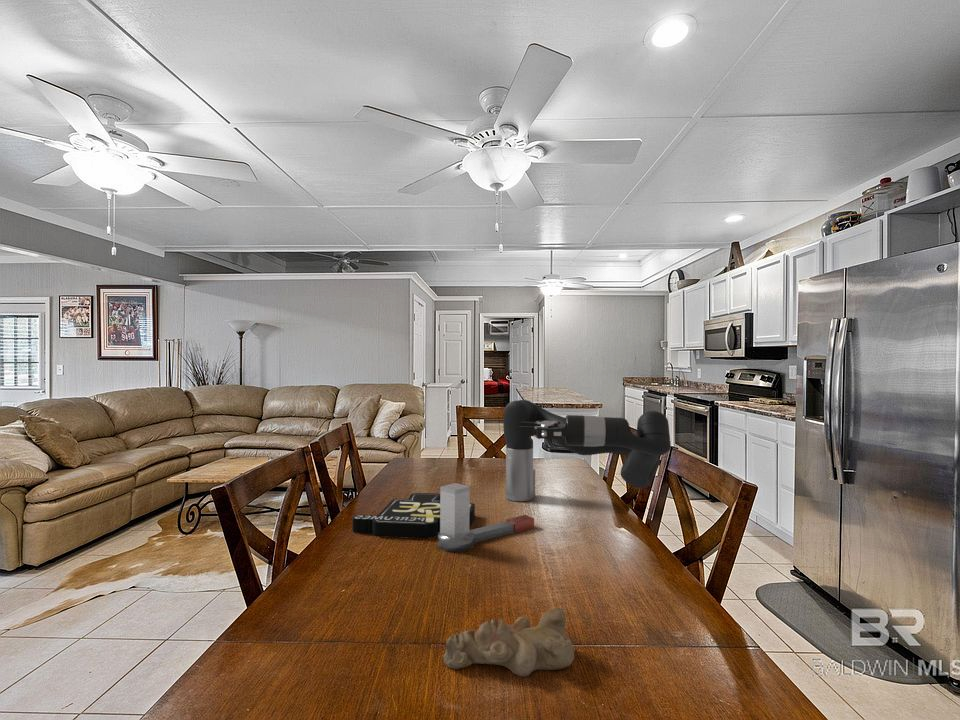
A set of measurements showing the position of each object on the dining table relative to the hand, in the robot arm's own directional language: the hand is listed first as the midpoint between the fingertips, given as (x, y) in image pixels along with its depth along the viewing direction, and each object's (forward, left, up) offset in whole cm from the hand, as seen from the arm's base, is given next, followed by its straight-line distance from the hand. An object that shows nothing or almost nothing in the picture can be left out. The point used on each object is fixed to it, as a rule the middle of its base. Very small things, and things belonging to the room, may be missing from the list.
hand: (519, 428), depth 122 cm
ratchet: (+2, -10, -30) cm, 31 cm away
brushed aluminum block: (+13, -10, -27) cm, 31 cm away
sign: (+10, -33, -30) cm, 46 cm away
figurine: (+31, +34, -30) cm, 55 cm away
